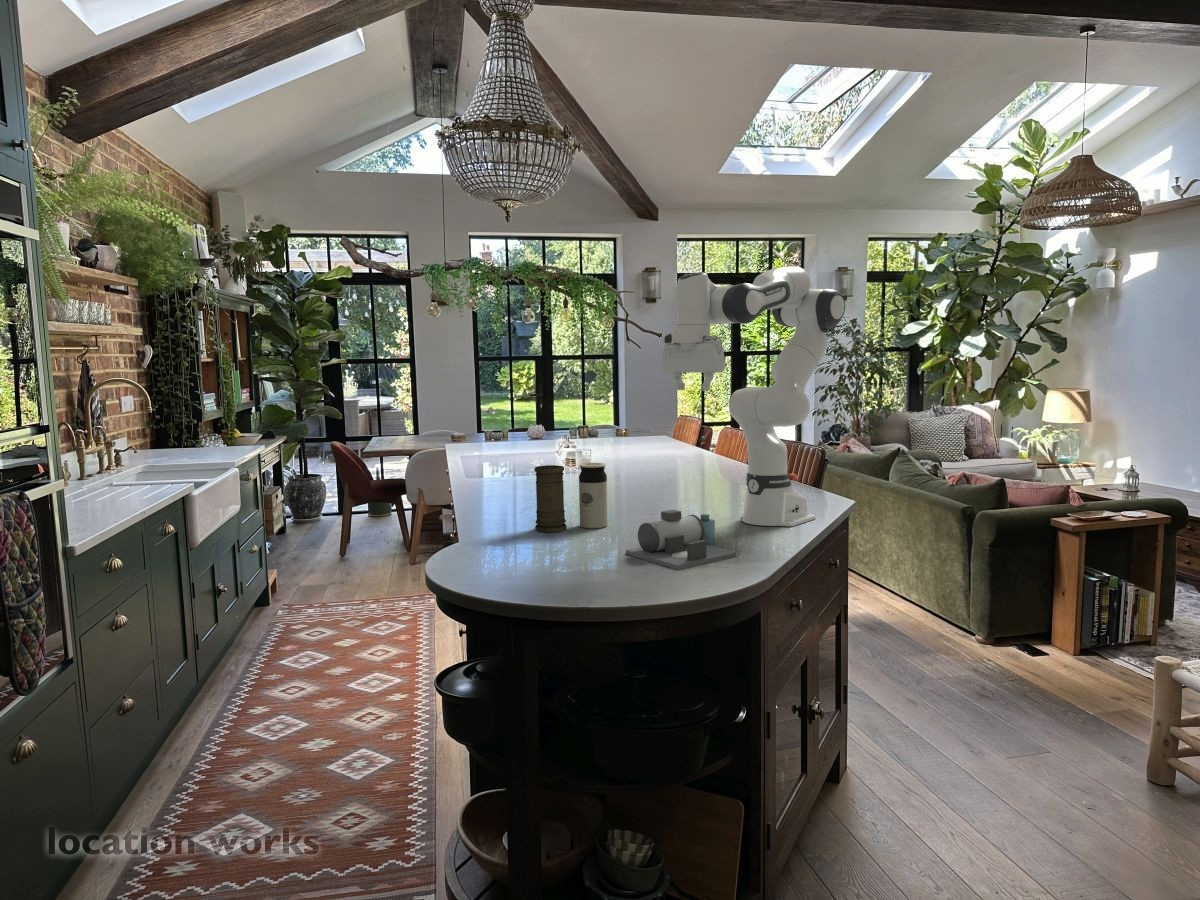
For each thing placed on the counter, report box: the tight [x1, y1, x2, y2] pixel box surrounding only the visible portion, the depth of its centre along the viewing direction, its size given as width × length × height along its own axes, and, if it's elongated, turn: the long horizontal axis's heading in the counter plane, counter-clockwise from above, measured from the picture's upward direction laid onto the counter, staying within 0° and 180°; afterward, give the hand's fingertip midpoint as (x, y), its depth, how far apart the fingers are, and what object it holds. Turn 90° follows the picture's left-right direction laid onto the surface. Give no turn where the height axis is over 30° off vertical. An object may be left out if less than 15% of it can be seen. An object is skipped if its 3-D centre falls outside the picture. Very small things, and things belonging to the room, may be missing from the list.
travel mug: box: [578, 462, 608, 530], centre depth 226 cm, size 8×8×18 cm
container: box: [534, 464, 568, 534], centre depth 222 cm, size 9×9×18 cm
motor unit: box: [625, 509, 737, 570], centre depth 191 cm, size 19×19×10 cm
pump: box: [700, 513, 716, 546], centre depth 203 cm, size 5×5×8 cm
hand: (692, 390), depth 204 cm, fingers open, 8 cm apart
